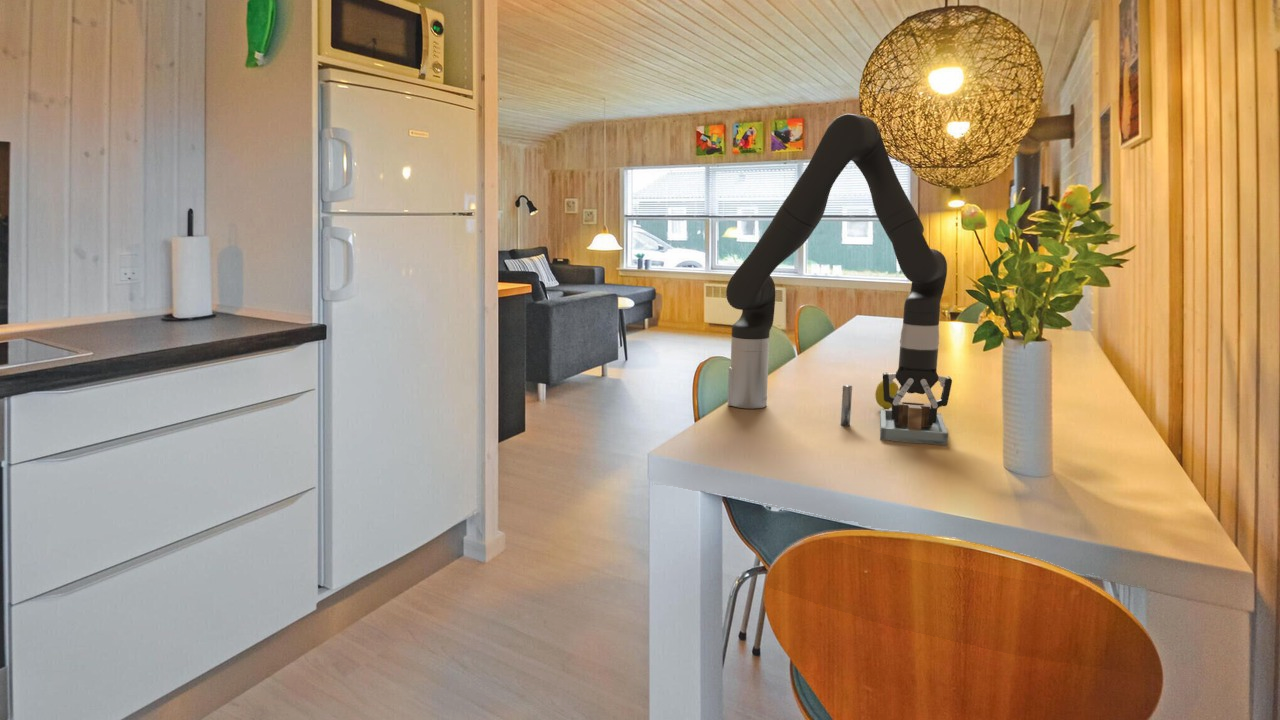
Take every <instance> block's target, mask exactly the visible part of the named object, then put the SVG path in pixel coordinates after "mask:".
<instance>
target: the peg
mask: <svg viewBox="0 0 1280 720" xmlns="http://www.w3.org/2000/svg"><path fill="white" fill-rule="evenodd" d="M852 394H853V385H850V384H843V385H842V395H841V398H842V399H841V413H840V414H841V416H840V426H842V427H850V426H851V413H852V412H851V411H852V398H853V397H852Z"/></svg>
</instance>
